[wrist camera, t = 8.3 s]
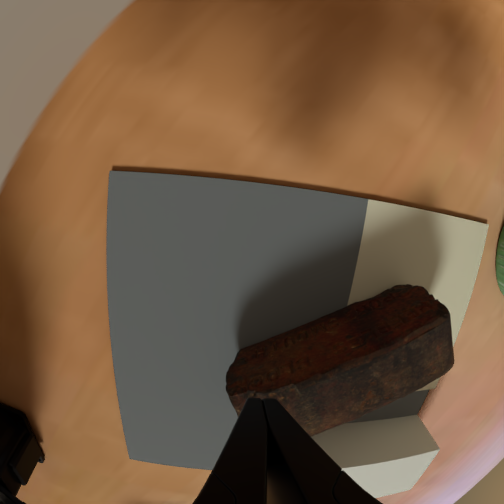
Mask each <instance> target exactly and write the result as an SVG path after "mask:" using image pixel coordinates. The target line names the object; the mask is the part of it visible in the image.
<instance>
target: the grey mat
mask: <svg viewBox="0 0 504 504" xmlns="http://www.w3.org/2000/svg"><path fill="white" fill-rule="evenodd" d="M488 226H489V225H488V224H484V223H480V222H476V221H472V220H468V219H464V218H459V217H455V216H451V215H446V214H442V213H437V212H432V211H428V210H423V209H418V208H413V207H408V206H403V205H398V204H393V203H387V202H382V201H377V200H371V199H365V198H360V197H354V196H348V195H342V194H335V193H329V192H322V191H316V190H309V189H302V188H295V187H288V186H280V185H272V184H264V183H256V182H247V181H238V180H229V179H219V178H209V177H198V176H187V175H174V174H161V173H146V172H128V171H110V173H109V187H108V207H107V291H108V310H109V325H110V337H111V347H112V357H113V366H114V374H115V381H116V388H117V395H118V401H119V408H120V414H121V419H122V425H123V430H124V435H125V440H126V445H127V449H128V454H129V458H130V459H133V460H138V461H144V462H149V463H156V464H162V465H169V466H177V467H185V468H195V469H206V470H213V468H214V466H215V464H216V462H217V460H218V458H219V456H220V454H221V452H222V450H223V448H224V446H225V444H226V442H227V440H228V438H229V435H230V433H231V431H232V429H233V427H234V425H235V423H236V421H237V419H238V416H237V413H236V411H235V409H234V407H233V406H232V404H231V402H230V399H229V396H228V394H227V392H226V388H225V387H226V372H227V371H228V369H229V366H230V365H231V364H232V363H233V362H234V360H235V357H236V355H237V353H238V352H239V350H240V349H242V348H245V347H248V346H251V345H253V344H256V343H259V342H261V341H264V340H266V339H269V338H271V337H274V336H276V335H279V334H281V333H284V332H287V331H289V330H292V329H294V328H296V327H299V326H301V325H304V324H306V323H309V322H311V321H314V320H316V319H318V318H320V317H322V316H325V315H327V314H330V313H333V312H335V311H336V310H339V309H342V308H344V307H346V306H348V305H350V304H352V303H354V302H359V301H363V300H366V299H368V298H372V297H374V296H376V295H378V294H380V293H382V292H383V291H385V290H387V289H391V288H392V287H393V286H395V285H406V284H410V285H412V286H416V285H418V286H422V287H424V288H425V289H426V290H427V291H428V293H429V294H432V295H433V296H434V298H435V300H436V299H438V300H439V301H440V303H442V304H444V305H445V306H446V307H447V308H448V310H449V312H450V317H451V328H452V341H453V346H454V343H455V341H456V338H457V335H458V333H459V330H460V327H461V324H462V322H463V319H464V316H465V313H466V310H467V307H468V304H469V301H470V297H471V294H472V291H473V287H474V284H475V281H476V277H477V273H478V270H479V266H480V262H481V258H482V254H483V249H484V245H485V240H486V236H487V231H488ZM439 379H440V378H438V379H436V380H435V381H433V382H431V383H429V384H427V385H426V386H424V387H423V388H421V389H419V390H416V391H415V392H413V393H411V394H408V395H407V396H405V397H404V398H399V399H397V400H396V401H394V402H392V403H390V404H388V405H386V406H383V407H381V408H379V409H377V410H374V411H372V412H370V413H367V414H365V415H363V416H362V417H360V418H358V419H355V420H353V421H349V422H347V423H355V422H366V421H375V420H383V419H391V418H398V417H405V416H411V415H417V414H418V412H419V410H420V408H421V406H422V404H423V402H424V400H425V398H426V396H427V394H428V392H429V390H430V389H435V387H436V385H437V383H438V381H439Z"/></svg>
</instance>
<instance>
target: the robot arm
mask: <svg viewBox="0 0 504 504" xmlns="http://www.w3.org/2000/svg"><path fill="white" fill-rule="evenodd" d="M44 460H45V458H44V456H43V454H42V452H41V450H40V448H39V445H38V443H37V441H36V439H35V437H34V434H33V432H32V430H31V427H30V425H29V423H28V420H27V418H26V416H25V414H24V413H22V412H21V411H19V410H16V409H14V408H11V407H9V406H6V405H4V404H1V403H0V504H26V503H25V502H22V501H21V500H19V499H18V498H17V497H16V495H17V493H18V491H19V489H20V487H21V485H26V484H27V482H28V480H29V478H30V476H31V474H32V472H33V470H34V468H35V466H36V464H37V462H40V463H43V462H44ZM341 470H342V468H341V467H340V466H339V465H338V464H337V463H336V462H335V461H334V460H333V459H332V458H331V457H330V456H329V455H328V454H327V453H326V452H325V451H324V450H323V449H322V448H321V447H320V446H319V445H318V444H317V443H316V442H315V441H314V440H313V439H312V437H311V436H310V435H309V434H308V433H307V432H306V431H305V430H304V429H303V428H302V427H301V426H300V425H299V423H298V422H297V421H296V420H295V419H294V418H293V417H292V416H291V415H290V414H289V412H288V411H287V410H286V409H285V408H284V407H283V406H282V405H281V404H280V402H279V401H278V400H277V399H274V398H263V399H262V400H261V399H260V398H247V400H246V402H245V404H244V406H243V408H242V410H241V412H240V415H239V417H238V419H237V421H236V423H235V425H234V427H233V429H232V431H231V433H230V435H229V438H228V440H227V442H226V444H225V446H224V448H223V450H222V452H221V454H220V456H219V458H218V460H217V462H216V464H215V466H214V468H213V470H212V472H211V474H210V475H209V477H208V479H207V481H206V483H205V485H204V486H203V488H202V490H201V492H200V493H199V495H198V496H197V498H196V499H195V501H194V502H193V503H192V504H382V503H381V502H380V501H378V500H377V499H376V498H374V497H373V496H372V495H370V494H369V493H368V492H367V491H365V490H364V489H363V488H362V487H361V486H359V485H358V484H357V483H356V482H355V481H354V480H353V479H352V478H351V477H350V476H349V475H348V474H347V473H346V472H345V471H344V470H342V471H341Z"/></svg>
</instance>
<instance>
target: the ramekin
mask: <svg viewBox="0 0 504 504" xmlns="http://www.w3.org/2000/svg"><path fill="white" fill-rule="evenodd" d="M496 277H497V282H498V285H499V288H500V291H501V292H502V294H503V295H504V226H503V229H502V232H501V235H500V238H499V242H498V247H497V254H496Z"/></svg>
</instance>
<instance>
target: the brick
mask: <svg viewBox="0 0 504 504" xmlns="http://www.w3.org/2000/svg"><path fill="white" fill-rule="evenodd" d="M453 364H454V353H453V341H452V328H451V317H450V312H449V310H448V308H447V307H446V306H445V305H444V304H442V303H440V301H439V300H438V299H436V300H435V298H434V296H433V295H432V294H429V293H428V291H427V290H426V289H425V288H424V287H422V286H418V285H416V286H412V285H410V284H406V285H395V286H393V287H392V288H391V289H387V290H385V291H383V292H382V293H380V294H378V295H376V296H374V297H372V298H368V299H366V300H363V301H359V302H354V303H352V304H350V305H348V306H346V307H344V308H342V309H339V310H336V311H335V312H333V313H330V314H327V315H325V316H322V317H320V318H318V319H316V320H314V321H311V322H309V323H306V324H304V325H301V326H299V327H296V328H294V329H292V330H289V331H287V332H284V333H281V334H279V335H276V336H274V337H271V338H269V339H266V340H264V341H261V342H259V343H256V344H253V345H251V346H248V347H245V348H242V349H240V350H239V352H238V353H237V355H236V357H235V360H234V362H233V363H232V364H231V365H230V366H229V369H228V371H227V372H226V387H225V388H226V392H227V394H228V396H229V399H230V402H231V404H232V406H233V407H234V409H235V411H236V413H237V416H238V417H239V415H240V412H241V410H242V408H243V406H244V404H245V402H246V400H247V398H260V399H261V400H262V399H263V398H274V399H277V400H278V401H279V402H280V404H281V405H282V406H283V407H284V408H285V409H286V410H287V411H288V412H289V414H290V415H291V416H292V417H293V418H294V419H295V420H296V421H297V422H298V423H299V425H300V426H301V427H302V428H303V429H304V430H305V431H306V432H307V433H308V434H309V435H310V436H314V435H317V434H319V433H322V432H324V431H326V430H329V429H332V428H334V427H337V426H339V425H342V424H344V423H347V422H349V421H353V420H355V419H358V418H360V417H362V416H363V415H365V414H367V413H370V412H372V411H374V410H377V409H379V408H381V407H383V406H386V405H388V404H390V403H392V402H394V401H396V400H397V399H399V398H404V397H405V396H407V395H408V394H411V393H413V392H415V391H416V390H419V389H421V388H423V387H424V386H426V385H427V384H429V383H431V382H433V381H435V380H436V379H438V378H440V377H441V376H443V375H444V374H445V373H447V372H448V371H449V370H450V369H451V368H452V366H453Z"/></svg>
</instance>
